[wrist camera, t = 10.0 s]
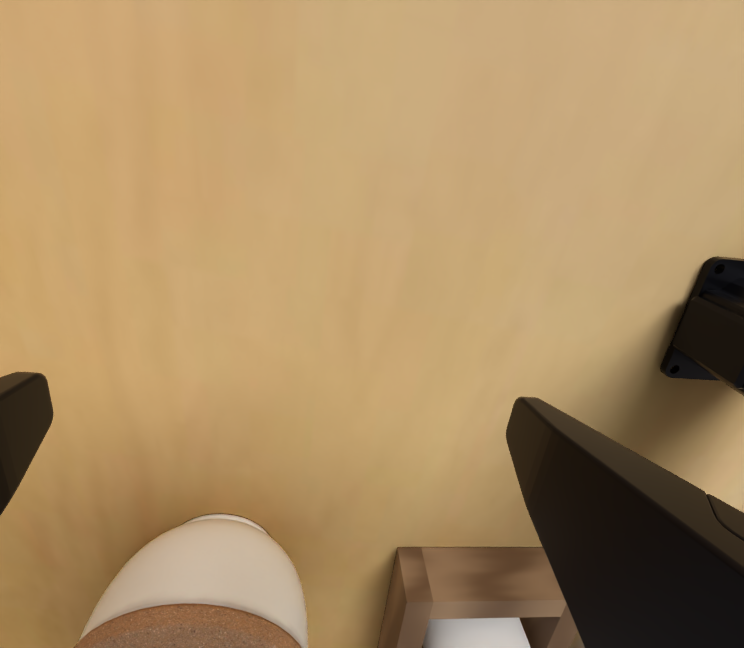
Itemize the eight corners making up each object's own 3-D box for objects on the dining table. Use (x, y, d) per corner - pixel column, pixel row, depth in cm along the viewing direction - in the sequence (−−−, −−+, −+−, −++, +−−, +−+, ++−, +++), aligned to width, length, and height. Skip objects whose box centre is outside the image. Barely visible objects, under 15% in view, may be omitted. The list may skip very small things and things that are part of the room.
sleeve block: (563, 547, 30) (592, 599, 26) (521, 651, 34) (541, 706, 31) (397, 547, 28) (406, 602, 25) (375, 656, 33) (381, 714, 29)
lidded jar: (308, 608, 30) (302, 805, 21) (135, 612, 28) (55, 825, 20) (318, 482, 25) (315, 668, 17) (113, 480, 24) (-2, 681, 16)
